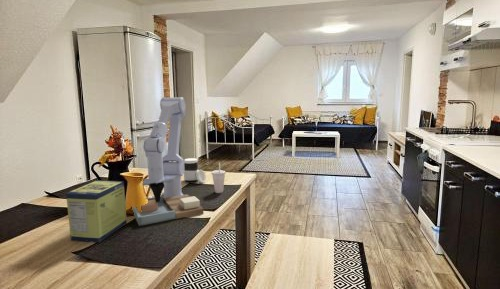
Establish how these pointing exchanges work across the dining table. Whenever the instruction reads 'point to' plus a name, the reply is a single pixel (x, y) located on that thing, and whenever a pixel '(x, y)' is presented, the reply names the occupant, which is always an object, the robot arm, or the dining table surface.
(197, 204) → the cream tile
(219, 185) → the smoothie
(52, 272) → the dining table surface
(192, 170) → the spread jar
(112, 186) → the protein box
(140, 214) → the box
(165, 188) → the robot arm
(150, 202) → the terracotta tile
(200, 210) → the walnut board
